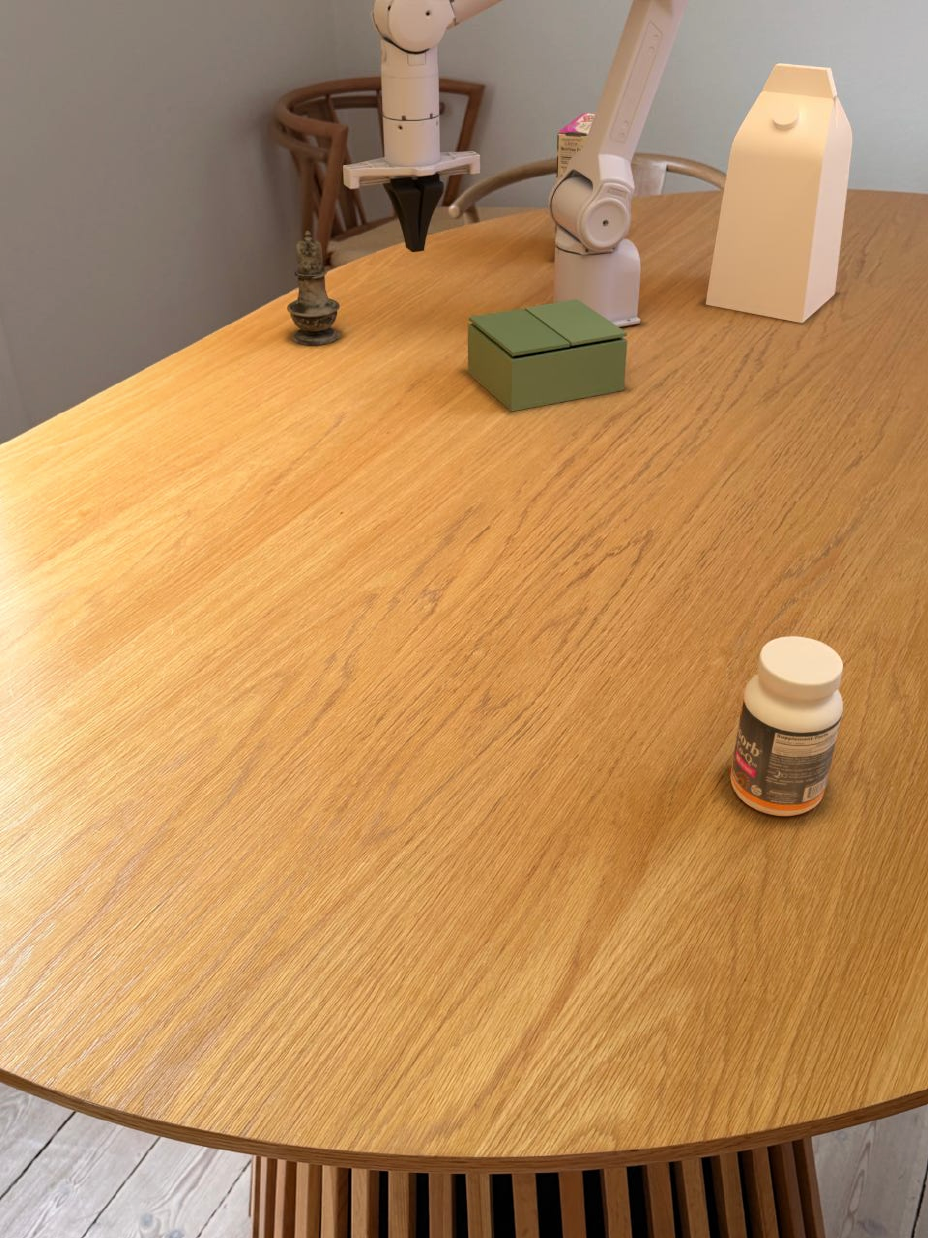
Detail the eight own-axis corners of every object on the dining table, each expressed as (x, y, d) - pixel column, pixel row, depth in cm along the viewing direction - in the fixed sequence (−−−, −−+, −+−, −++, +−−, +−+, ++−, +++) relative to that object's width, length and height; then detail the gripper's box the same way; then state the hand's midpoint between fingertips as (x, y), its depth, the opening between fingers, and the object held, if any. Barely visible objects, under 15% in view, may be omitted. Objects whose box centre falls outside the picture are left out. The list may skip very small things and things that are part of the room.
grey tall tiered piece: (345, 328, 140) (339, 222, 133) (336, 347, 135) (329, 239, 128) (295, 326, 140) (286, 221, 134) (284, 345, 135) (274, 237, 129)
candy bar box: (575, 237, 168) (581, 111, 159) (610, 241, 166) (618, 114, 157) (551, 261, 159) (555, 129, 150) (588, 266, 158) (595, 133, 148)
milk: (834, 293, 148) (873, 62, 133) (802, 323, 140) (839, 80, 125) (741, 277, 153) (769, 53, 139) (705, 304, 145) (730, 69, 131)
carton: (511, 411, 121) (512, 352, 117) (467, 372, 129) (467, 316, 125) (624, 390, 125) (628, 332, 121) (574, 353, 133) (577, 298, 129)
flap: (512, 356, 117) (512, 352, 117) (468, 320, 126) (468, 316, 125) (570, 346, 119) (570, 342, 119) (522, 312, 128) (523, 308, 127)
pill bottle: (718, 761, 77) (737, 632, 71) (807, 755, 77) (832, 627, 72) (743, 824, 72) (765, 691, 67) (837, 818, 73) (867, 685, 67)
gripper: (356, 129, 117) (363, 268, 125) (492, 115, 122) (491, 250, 130) (333, 115, 123) (341, 249, 130) (464, 102, 127) (465, 232, 135)
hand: (414, 248), depth 130 cm, fingers closed
